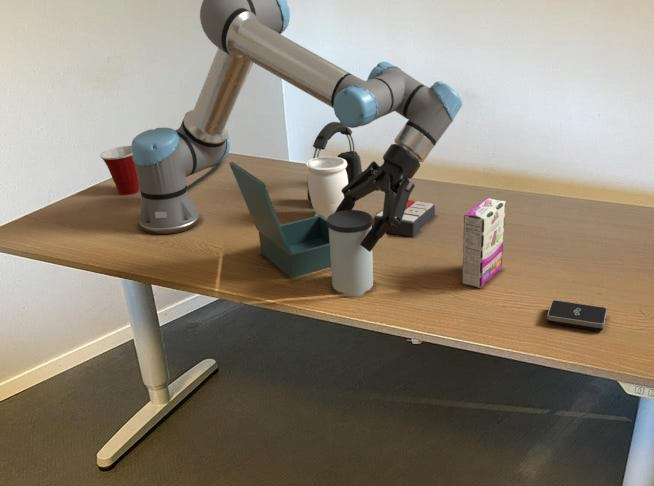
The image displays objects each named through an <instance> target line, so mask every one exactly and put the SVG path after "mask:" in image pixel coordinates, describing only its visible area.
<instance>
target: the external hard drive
mask: <svg viewBox="0 0 654 486" xmlns="http://www.w3.org/2000/svg"><path fill="white" fill-rule="evenodd" d="M607 312H608V308H607V307H605V306H599V305H592V304H584V303H577V302H573V301H572V302H571V301H566V300H565V301H564V300H558V299H553V300H551V303H550V306H549V309H548V311H547V316H546V322H547V323H548V324H552V325H559V326H564V327H570V328H578V329H584V330H591V331H597V332H601V331H603V330H604V326H605V323H606V320H607Z"/></svg>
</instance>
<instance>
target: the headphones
mask: <svg viewBox="0 0 654 486" xmlns="http://www.w3.org/2000/svg"><path fill="white" fill-rule="evenodd" d="M337 133H340V134H341V135H345V136H346V138H347V140H348V144H349V151H343V152H341V153H340V154H338V155H337V156H336V157H339V158H343V159H345V160H346V161H347V167H346V168H345V169H346V172H347V177H348V184H349V183H350V182H351V181H352V180H354V179H355V178H356V177H357V176H358V175H360V174H361V173H362V172H363V169H362V162H361V161H362V160H361V157H360V155H359V154H358V153H357V151H356V148H355V141H354V138H353V137H352V134H353V131H352V129H351V128H350V127H346V126H344V125H343V124H342V123H340V121H330V122H329V123H327V124H326V125H324V127H322V129H321V130H320V131H319V133H318V135H317V136H316V137H315V140H314V142H313V145H312V148H314V153H313V157H312V159H314V158H319V156H320V153H321V151H322V150H326V147H327V144H328V142H329V141H330V139H331V138H333V136H335V134H337ZM308 174H309V172H308V173H307V175H308ZM306 192H307V201H308V202H309V203H310V204H312V203H311V198H310V194H309V189H308V188H307V191H306Z"/></svg>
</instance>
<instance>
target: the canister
mask: <svg viewBox="0 0 654 486" xmlns="http://www.w3.org/2000/svg"><path fill="white" fill-rule="evenodd" d="M327 225H328V227H329V242H330V257H331V267H330V273H331V285H332V288H333V289H334V290H335V291H337V292H339V293H338V295H340V296H342V297H350V298H351V297H352V298H353V297H361V296H365V295H366V294H369V293H370V292H371V290H370V289H372V287H373V286H374V263H373V262H374V260H373V249H372V250H371V252H369V251H368V250H366V249H365V248H364V247H363V246H361V245H360V244H361V242H362V241H363V239H364V238H365V237H366V235H367V234H368V232H369V231H370V230H371V228H372V227H373V216H372V215H371V214H370V213H369V212H366V211H363V210H357V209H352V210H344V211H339V212H335V213H333V214H331V215H330V216H329V217H328V218H327Z"/></svg>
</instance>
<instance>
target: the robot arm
mask: <svg viewBox="0 0 654 486" xmlns="http://www.w3.org/2000/svg"><path fill="white" fill-rule="evenodd" d="M199 9H200V10H199V20H200V25H201V28H202V31H203V32H204V34H205V36H206V37H207V39H208V40H209V41H210V43H212V44H213V45H214V46H215V47H216V48H217V50H216V52H215V55H214V57H213V60H212V63H211V66H210V68H209V70H208V72H207V74H206V77H205V80H204V83H203V84H202V87H201V90H200V93H199V95H198V98H197V100H196V102H195V105H194V107H193V109H190V110H188V111H187V112H185V114H184V115H183V119H182V120H181V123H180V126H179V127H178V128H177V129H173V128H171V127H156V128H154V129H152V128H151V129H148V130H147V129H146V130H144V131H142V132H140V133H138V134H137V135H135V137H134V138H133V139H132V141H131V145H130V146H131V147H132V158H133V161H134V164H135V169H136V173H137V178H138V182H139V191H140V195H141V201H140V211H139V217H138V222H139V226H140V229H141V230H142V231H143V232H145V233H148V234H151V235H152V234H153V235H171V234H172V235H173V234H177V233H182V232H185V231H188V230H191V229H193V228H195V227H196V226H197V225H198V224H199V223H200V222H201V221H200V220H201V219H200V213H199V211H198V208H197V206H196V204H195V203H194V201H193V199H192V197H191V195H190V193H189V189H191V188H193V187H194V186H195V185H197V184H198V183H200V182H201V181H203V180H205V179H206V178H208V177H209V176H210V175H211V174H213V173H214V172H215V171H216V170H217V169H218V168H219V167H220V166H221V164H222V162H223V161H224V160H225V159H226V158H227V156H228V155H229V153H230V147H231V142H230V141H229V139H230V135H229V130H228V127H227V124H228V121H229V120H230V116H231V115H232V112H233V111H234V107H235V106H236V103H237V101H238V99H239V97H240V95H241V92H242V90H243V88H244V86H245V83H246V81H247V79H248V77H249V75H250V72H251V70H252V67H253V65H254V64H255V65H257V66H258V67H260V68H262V69H264V70H266V71H267V72H269V73H270V74H272V75H274V76H276V77H278V78H279V79H282V80H283V81H285V82H286V83H288V84H290V85H292V86H293V87H295V88H297V89H299V90H301V91H303V92H304V93H305V94H307V95H310V96H311V97H312V98H315V99H316V100H318V101H319V102H322V103H323V104H325V105H327V106H329V107H330V108H332V109H333V112H334V115H335V117H336V118H337V120H338V122H339V123H342V124H343V125H344V126H346V127H348V128H349V129H356V128H359V127H364V126H366V125H369V124H371V123H373V122H374V121H376V120H378V119H380V118H382V117H385V116H387V115H390V114H391V113H394V112H396V113H397V114H399V115H400V116H402V117H403V118H405V119H406V120H407V121H406V122H405V124H404V126H403V127H402V128H401V130H400V131H399V132H398V134H397V135H396V136H395V138H394V143H392V144H390V145H389V147H388V149H386V151H385V152H384V154H383V156H382V159H383V163H382V164H381V165H379V163H377V162H376V161H371V163H370V164H369V165H368V166H367V168H366V169H364V170H362V173H361V174H360V175H358V176H357V177H356V178H355V179H354V180H352V181H351V182H350V183H349V184H347V185H346V186H345V187H344V188H343V189H342V190H341V192H342V193H343V194H344V199H343V200H342V202H341V203H340V204H339V206H338V207H337V209H336V211H335V212H339V211H344V210H354V207H355V206H356V202H357V201H360V199H363V198H364V197H367V196H368V195H370V194H371V193H373V192H379V191H380V192H382V193H384V199H383V208H382V209H383V210H382V211H383V215H382V216H381V217H382V218H381V217H380V218H381V219H382V220H383V221H382V220H381V219H379V218H378V220H377V221H376V222H375V224H374V223H373V224H372V228H371V230H370V231H369V232H368V234H367V235H366V237H365V238H364V239H363V241H362V242H361V244H360V245H361V246H363V247H364V248H365V249H366V250H368V251H369V252H371V250H372V251H373V248H374V247H375V246H376V245H377V243H379V241H380V239H382V238H383V237H384V235H385V234H386V233H387V232H386V231H387V230H388V228H389V227H390V226H393V225H395V226H397V227H398V226H400V224H401V221H402V218H403V215H404V212H405V208H406V205H407V202H408V200H410V195H411V193H412V192H413V190H414V189H415V187H416V185H415V183H414V182H413V181H411V180H410V179H413V177H414V176H415V175H416V173H417V172H418V171H419V169H420V168H421V163H424V161H425V160H426V159H427V157H428V156H429V154H430V152H431V151H432V150H433V148H434V147H435V146H436V144H438V142H439V140H440V139H441V138H442V136H443V135H444V134H445V132H446V131H447V129H448V128H449V127H450V125H452V123H453V122H454V119H455V118H456V116H457V115H458V113H459V111H460V110H461V108H462V107H463V100H462V97H461V96H460V94H459V93H458V91H456V90H455V89H454V88H453V87H451V86H450V85H449V84H447V83H446V82H445V83H444V82H442V81H438V80H437V81H436V82H433V84H432V85H431V86H430V87H429V86H427V85H425V84H423V83H422V82H420V81H418V80H417V79H416V78H415V77H413V76H411V75H409V74H408V73H406V72H405V71H404V70H402V69H401V68H400V67H398V66H396V65H393V64H392V63H390V62H389V61H381V62H378V63H377V65H376V66H374V67H373V68H372V70H371V71H370V73H369V74H368V77H367V80H363V79H362V78H360V77H358V76H356V75H354V74H352V73H351V72H348V70H346V69H344V68H342V67H340V66H338V65H337V64H334V63H333V62H331V61H330V60H327V59H326V58H323V57H322V56H321V55H318V54H316V53H315V52H313V51H311V50H310V49H308V48H306V47H305V46H303V45H300V44H299V43H297V42H295V41H293V40H291V39H290V38H288V37H287V36H284V35H283V33H284V32H285V31H286V30H287V29H288V26H289V23H290V20H291V13H290V7H289V4H288V0H202V2H201V5H200V8H199ZM209 168H211V169H210V170H209V171H208V172H206V173H205V174H204V175H202V176H201V177H199V178H197V179H196V180H194V181H193V182H192V183H190V184H189V185H188V184H187V179H186V178H187V177H190V176H192V175H194V174H198V173H199V172H201V171H204V170H207V169H209ZM395 217H397V218H395Z"/></svg>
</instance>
